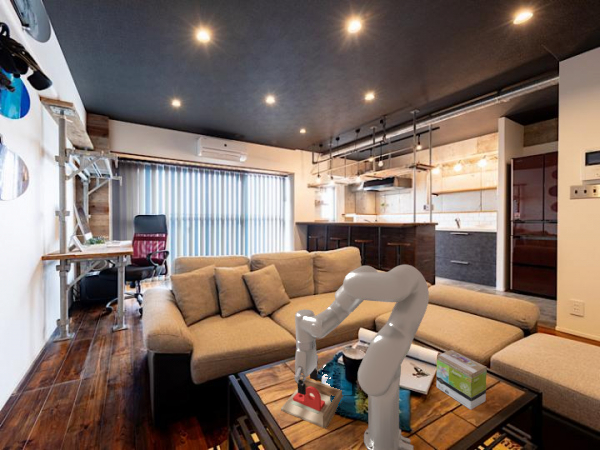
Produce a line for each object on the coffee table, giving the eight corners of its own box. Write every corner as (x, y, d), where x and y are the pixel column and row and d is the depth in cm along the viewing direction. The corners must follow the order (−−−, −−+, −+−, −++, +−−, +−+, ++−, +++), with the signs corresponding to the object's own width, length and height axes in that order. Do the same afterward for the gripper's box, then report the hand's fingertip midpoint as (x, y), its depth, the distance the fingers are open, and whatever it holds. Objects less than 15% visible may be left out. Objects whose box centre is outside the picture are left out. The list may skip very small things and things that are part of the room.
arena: (342, 400, 111) (342, 390, 111) (326, 428, 97) (325, 417, 97) (301, 386, 121) (300, 376, 120) (280, 410, 107) (280, 399, 106)
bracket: (325, 404, 108) (324, 384, 108) (319, 411, 104) (319, 391, 104) (299, 393, 115) (298, 375, 114) (293, 400, 111) (292, 381, 110)
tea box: (435, 388, 117) (435, 354, 116) (450, 380, 122) (451, 348, 121) (471, 411, 104) (472, 373, 103) (486, 402, 109) (487, 365, 108)
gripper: (308, 332, 116) (309, 371, 117) (285, 351, 101) (287, 396, 102) (324, 335, 112) (326, 376, 113) (303, 356, 97) (305, 403, 98)
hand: (308, 386), depth 107 cm, fingers open, 9 cm apart
